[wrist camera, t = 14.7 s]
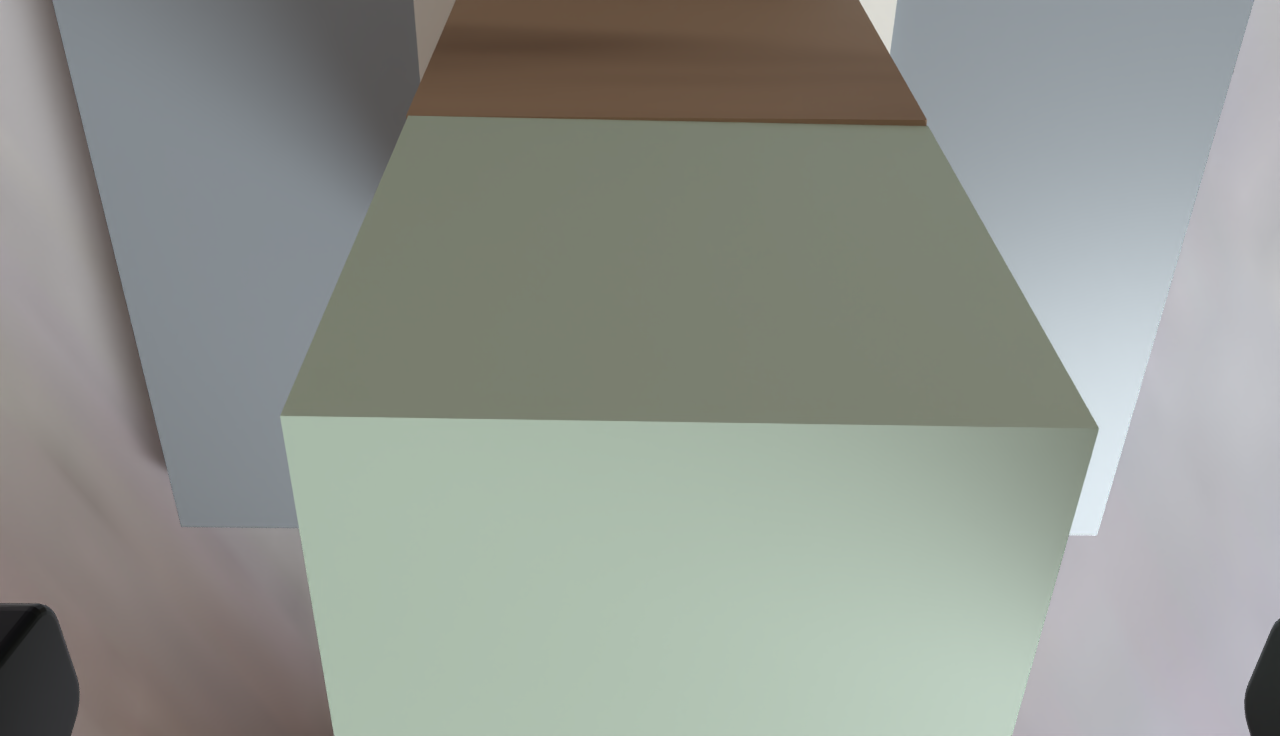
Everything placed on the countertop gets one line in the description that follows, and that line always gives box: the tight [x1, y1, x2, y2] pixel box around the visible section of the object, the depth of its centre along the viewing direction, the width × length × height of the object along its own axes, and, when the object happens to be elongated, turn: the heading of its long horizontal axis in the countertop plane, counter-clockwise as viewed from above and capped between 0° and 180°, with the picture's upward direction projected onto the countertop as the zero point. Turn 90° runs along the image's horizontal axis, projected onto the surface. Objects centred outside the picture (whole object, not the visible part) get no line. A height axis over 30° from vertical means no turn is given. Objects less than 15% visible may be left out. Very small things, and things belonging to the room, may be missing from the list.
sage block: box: [280, 116, 1099, 736], centre depth 11 cm, size 5×5×5 cm
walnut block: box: [406, 0, 927, 126], centre depth 15 cm, size 5×5×5 cm
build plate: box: [52, 0, 1254, 535], centre depth 18 cm, size 14×16×1 cm
